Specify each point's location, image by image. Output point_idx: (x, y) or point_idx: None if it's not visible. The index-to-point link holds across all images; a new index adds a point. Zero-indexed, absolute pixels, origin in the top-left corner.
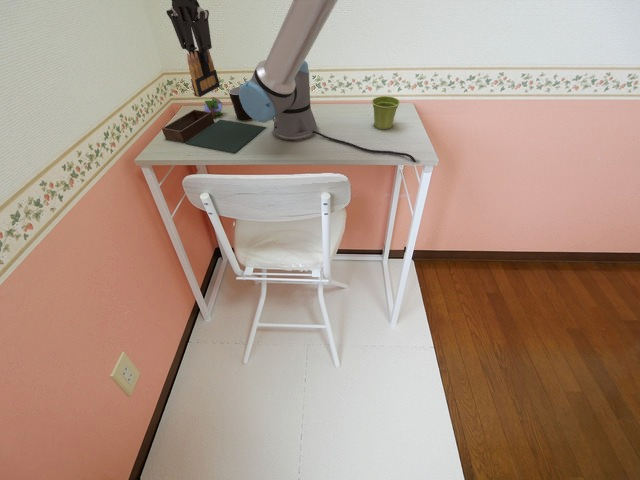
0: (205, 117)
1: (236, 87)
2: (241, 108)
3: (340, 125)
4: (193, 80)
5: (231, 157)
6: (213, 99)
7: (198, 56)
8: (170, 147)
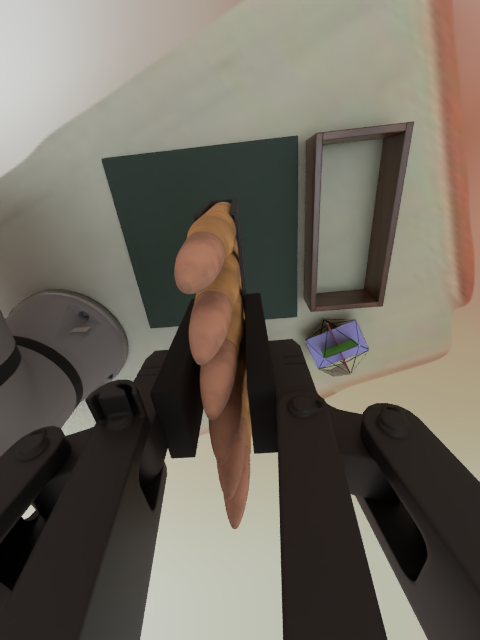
0: (310, 278)
1: None
2: None
3: None
4: (211, 209)
5: (92, 131)
6: (348, 370)
7: (179, 369)
8: (334, 83)
